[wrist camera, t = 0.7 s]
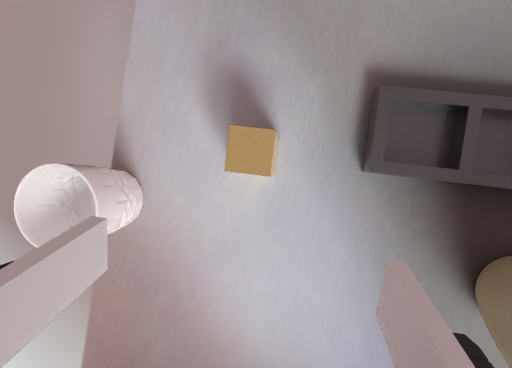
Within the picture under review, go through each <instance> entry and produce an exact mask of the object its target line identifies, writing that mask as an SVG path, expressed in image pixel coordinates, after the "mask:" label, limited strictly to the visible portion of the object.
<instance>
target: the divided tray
mask: <svg viewBox="0 0 512 368" xmlns="http://www.w3.org/2000/svg"><path fill="white" fill-rule="evenodd" d="M362 171H363V172H371V173H379V174H388V175H396V176H404V177H413V178H421V179H429V180H437V181H446V182H454V183H462V184H471V185H479V186H487V187H496V188H504V189H512V97H506V96H495V95H484V94H474V93H463V92H452V91H441V90H430V89H420V88H409V87H398V86H387V85H381V86H380V87H379V88H377V89H376V90H375V91H374V92H373V99H372V106H371V113H370V120H369V127H368V134H367V141H366V148H365V155H364V162H363V169H362Z"/></svg>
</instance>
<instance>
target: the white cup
mask: <svg viewBox="0 0 512 368" xmlns="http://www.w3.org/2000/svg"><path fill="white" fill-rule="evenodd" d="M143 203H144V202H143V192H142V188H141V187H140V185H139V183H138V181H137V180H136V178H134V177H133V176H132V175H130V174H129V173H127V172H126V171H121V170H115V169H108V168H104V167H94V166H86V165H72V164H60V163H49V164H44V165H41V166H38V167H36V168H34V169H33V170H31V171H30V172H29V173H28V174H26V175H25V177H24V178H23V179H22V180H21V182H20V184H19V185H18V188H17V190H16V193H15V197H14V216H15V220H16V223H17V225H18V228H19V230H20V232H21V233H22V235H23V236H24V237H25V238H26V240H27V241H29V243H31V244H32V245H33V246H35V247H36V248H38V247H40V246H41V245H43V244H45V243H46V242H48V241H50V240H52V239H53V238H55V237H57V236H58V235H60V234H62V233H63V232H65V231H67V230H69V229H70V228H72V227H74V226H75V225H77V224H79V223H80V222H82V221H84V220H86V219H87V218H89V217H91V216H96V217H102V218H107V235H109V234H111V233H113V232H115V231H117V230H118V229H120V228H121V227H124V226H126V225H128V224H130V223H131V222H132V221H134V220H135V219H136V218H137V217H138V216H139V214H140V211H141V209H142V206H143Z"/></svg>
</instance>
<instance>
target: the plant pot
mask: <svg viewBox="0 0 512 368" xmlns="http://www.w3.org/2000/svg"><path fill="white" fill-rule="evenodd" d="M475 296H476V300H477V303H478V306H479V309H480V312H481V314H482V317H483V319H484V321H485V323H486V326H487V328H488V330H489V332H490V334H491V336H492V338H493V339H494V341H495V343H496V345H497V347H498V349H499V350H500V352H501V354H502V355H503V357H504V359H505V360H506V362H507V364H508V365H509V367H510V368H512V256H507V257H502V258H499V259H497V260H494V261H493V262H491V263H490V264H488V265H487V266H486V267H485V268H484V269H483V270H482V271H481V273H480V275H479V276H478V279H477V281H476V285H475Z"/></svg>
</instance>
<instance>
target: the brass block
mask: <svg viewBox="0 0 512 368" xmlns="http://www.w3.org/2000/svg"><path fill="white" fill-rule="evenodd" d="M279 139H280V138H279V136H278V133H277V131H276V130H273V129H264V128H255V127H246V126H237V125H230V129H229V137H228V146H227V155H226V163H225V171H230V172H238V173H246V174H254V175H262V176H273V175H275V171H276V163H277V155H278V147H279Z"/></svg>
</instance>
